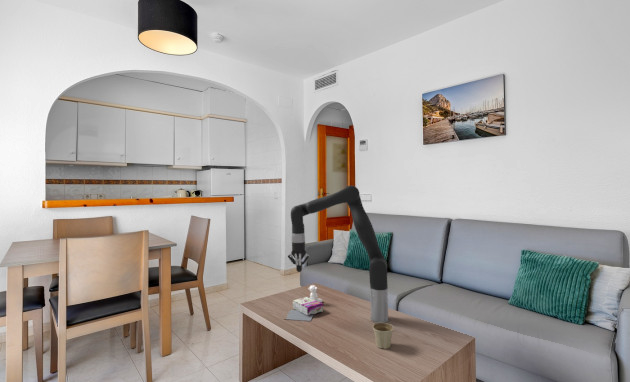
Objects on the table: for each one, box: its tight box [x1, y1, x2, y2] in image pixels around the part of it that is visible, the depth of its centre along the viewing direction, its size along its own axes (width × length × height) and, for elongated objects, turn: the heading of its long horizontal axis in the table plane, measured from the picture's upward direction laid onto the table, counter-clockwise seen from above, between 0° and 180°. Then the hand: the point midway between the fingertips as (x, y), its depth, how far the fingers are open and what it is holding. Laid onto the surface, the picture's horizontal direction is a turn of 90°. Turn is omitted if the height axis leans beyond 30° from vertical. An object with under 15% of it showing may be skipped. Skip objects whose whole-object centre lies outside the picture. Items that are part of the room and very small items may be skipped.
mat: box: [285, 309, 315, 322], centre depth 178 cm, size 15×13×1 cm
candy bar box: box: [292, 296, 324, 316], centre depth 185 cm, size 11×5×16 cm
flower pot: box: [372, 322, 394, 350], centre depth 143 cm, size 9×9×9 cm
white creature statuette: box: [307, 284, 323, 303], centre depth 195 cm, size 10×9×12 cm
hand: (299, 271), depth 178 cm, fingers closed
